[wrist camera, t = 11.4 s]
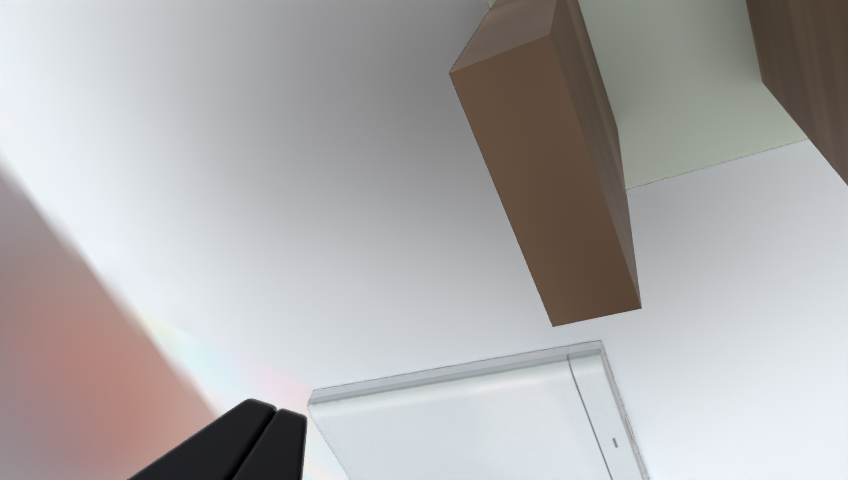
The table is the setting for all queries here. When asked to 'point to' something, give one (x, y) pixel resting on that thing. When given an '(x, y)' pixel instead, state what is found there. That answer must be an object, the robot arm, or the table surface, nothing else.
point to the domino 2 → (807, 67)
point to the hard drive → (485, 421)
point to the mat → (683, 85)
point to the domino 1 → (552, 154)
